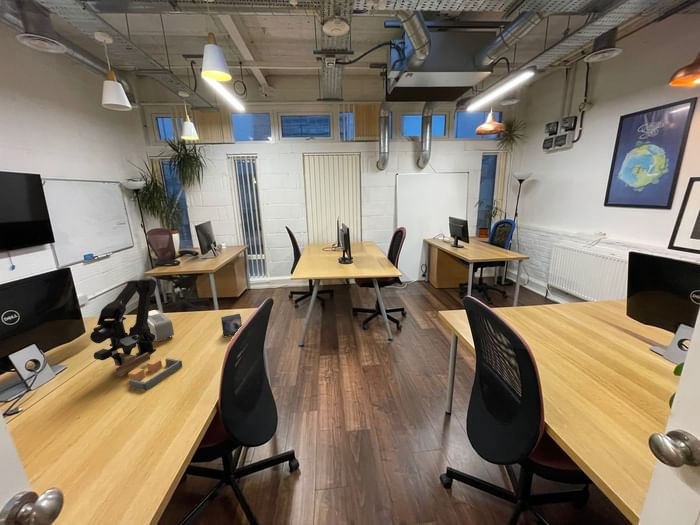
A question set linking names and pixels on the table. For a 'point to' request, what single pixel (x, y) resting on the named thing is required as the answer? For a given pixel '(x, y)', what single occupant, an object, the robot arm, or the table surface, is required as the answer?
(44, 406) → the table surface
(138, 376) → the chip
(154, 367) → the orange cube
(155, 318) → the light grey rounded block
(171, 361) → the tray
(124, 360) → the brown angular piece
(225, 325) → the small box
